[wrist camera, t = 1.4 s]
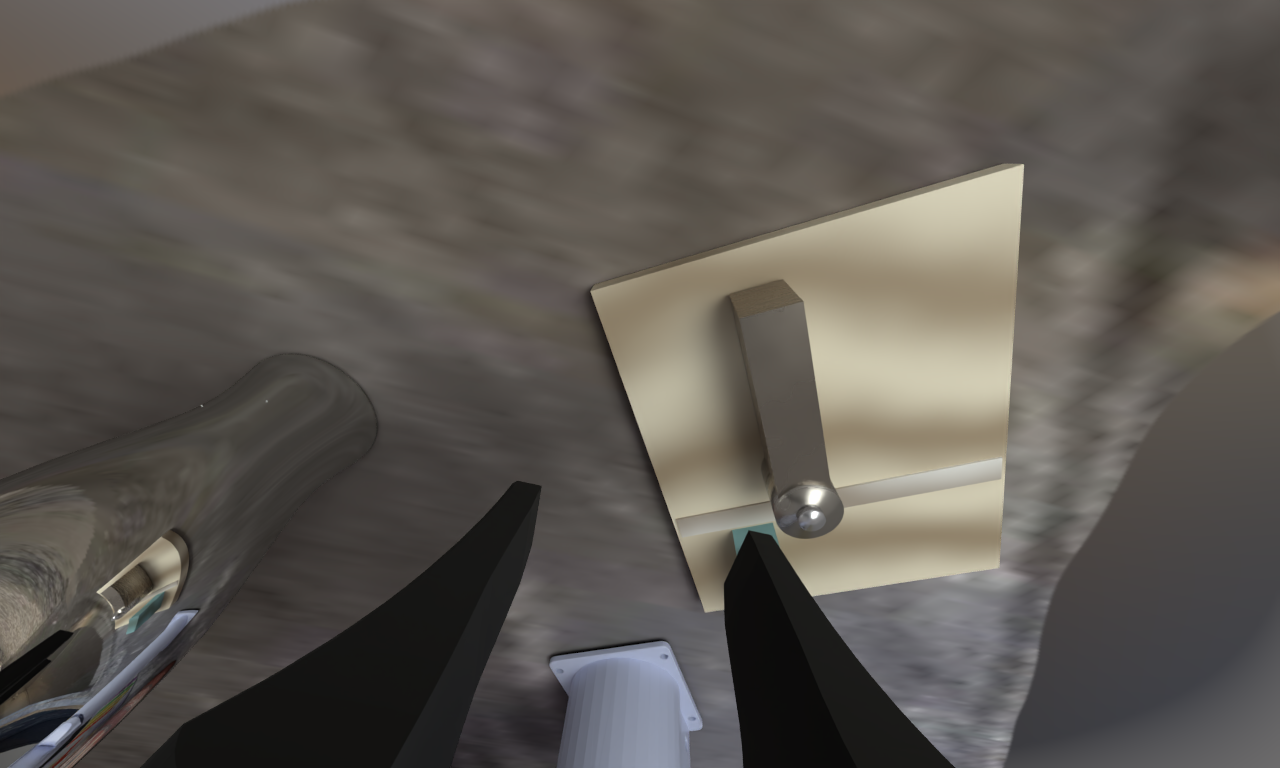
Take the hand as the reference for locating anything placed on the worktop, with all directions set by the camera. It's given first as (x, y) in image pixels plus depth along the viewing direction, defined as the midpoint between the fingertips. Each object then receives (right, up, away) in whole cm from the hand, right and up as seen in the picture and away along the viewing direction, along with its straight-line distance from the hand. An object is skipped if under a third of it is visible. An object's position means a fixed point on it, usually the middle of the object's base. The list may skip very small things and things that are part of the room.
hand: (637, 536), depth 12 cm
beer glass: (-15, +3, +10) cm, 19 cm away
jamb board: (+8, +1, +9) cm, 12 cm away
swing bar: (+6, +3, +7) cm, 10 cm away
